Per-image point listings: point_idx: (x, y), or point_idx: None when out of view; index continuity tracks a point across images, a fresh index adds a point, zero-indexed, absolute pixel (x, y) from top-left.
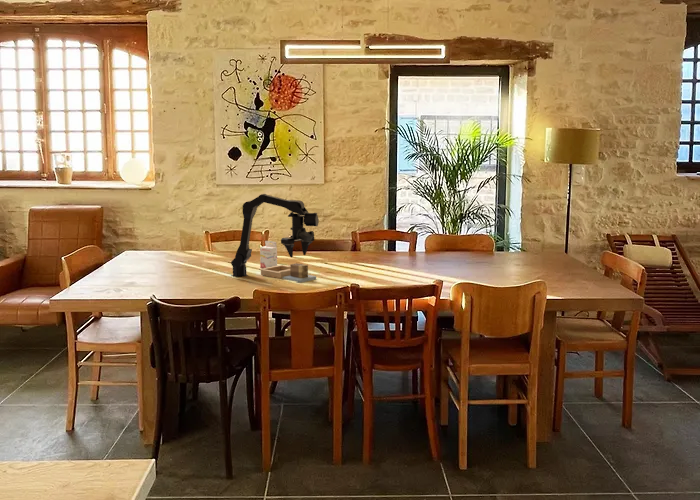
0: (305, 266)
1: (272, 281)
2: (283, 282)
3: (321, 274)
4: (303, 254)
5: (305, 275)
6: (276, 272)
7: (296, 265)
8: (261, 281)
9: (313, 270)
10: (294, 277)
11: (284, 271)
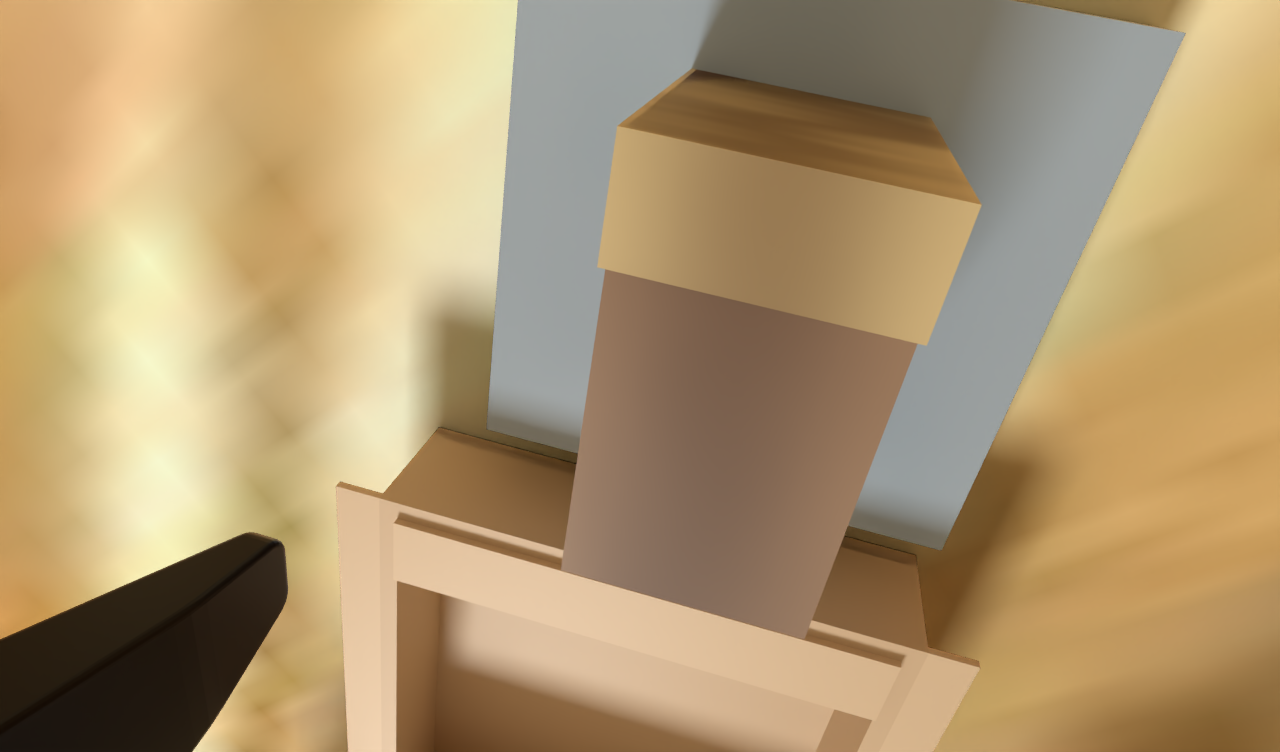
0: (756, 144)
1: (1173, 598)
2: (1217, 386)
3: (136, 123)
4: (276, 613)
5: (782, 93)
6: (953, 714)
7: (870, 439)
8: (1232, 739)
9: (50, 417)
10: None
11: None
